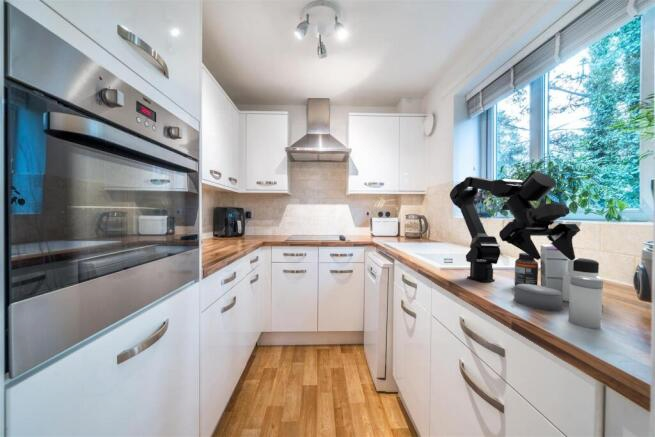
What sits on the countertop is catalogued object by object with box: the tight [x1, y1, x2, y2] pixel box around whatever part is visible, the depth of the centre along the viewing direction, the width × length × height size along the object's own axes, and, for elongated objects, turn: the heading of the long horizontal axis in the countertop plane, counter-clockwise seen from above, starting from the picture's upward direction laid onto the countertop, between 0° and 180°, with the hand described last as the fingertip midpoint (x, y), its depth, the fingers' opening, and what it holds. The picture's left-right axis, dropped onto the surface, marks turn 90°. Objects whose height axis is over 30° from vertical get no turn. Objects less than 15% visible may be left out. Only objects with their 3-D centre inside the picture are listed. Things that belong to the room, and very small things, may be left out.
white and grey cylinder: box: [567, 276, 604, 330], centre depth 56 cm, size 5×5×10 cm
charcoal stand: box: [513, 284, 564, 312], centre depth 68 cm, size 10×10×4 cm
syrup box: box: [540, 244, 569, 293], centre depth 78 cm, size 6×6×14 cm
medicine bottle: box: [562, 257, 603, 303], centre depth 71 cm, size 7×7×12 cm
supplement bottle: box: [513, 252, 539, 287], centre depth 83 cm, size 6×6×11 cm
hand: (556, 259), depth 64 cm, fingers open, 9 cm apart
